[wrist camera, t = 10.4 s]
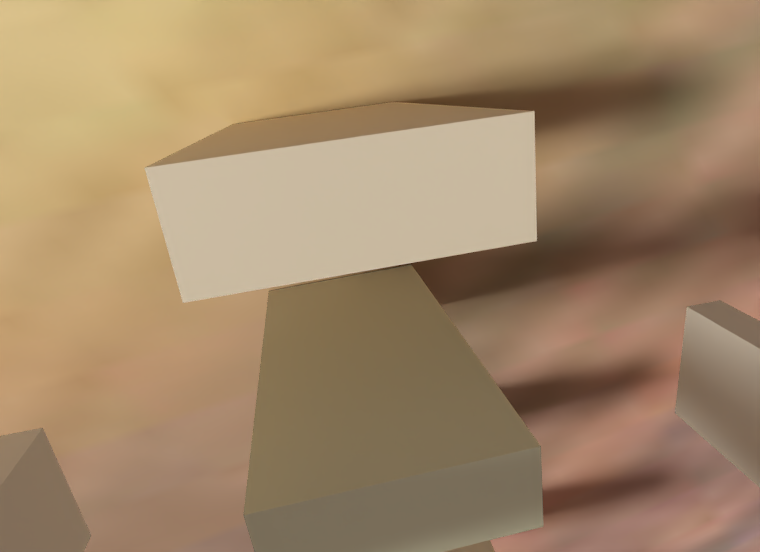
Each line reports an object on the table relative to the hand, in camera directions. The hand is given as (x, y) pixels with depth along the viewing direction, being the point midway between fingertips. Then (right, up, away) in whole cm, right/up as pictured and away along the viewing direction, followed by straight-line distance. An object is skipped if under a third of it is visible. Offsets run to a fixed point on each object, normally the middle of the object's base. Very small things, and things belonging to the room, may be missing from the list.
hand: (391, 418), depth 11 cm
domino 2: (-2, +2, +7) cm, 8 cm away
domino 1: (-2, +7, +6) cm, 9 cm away
